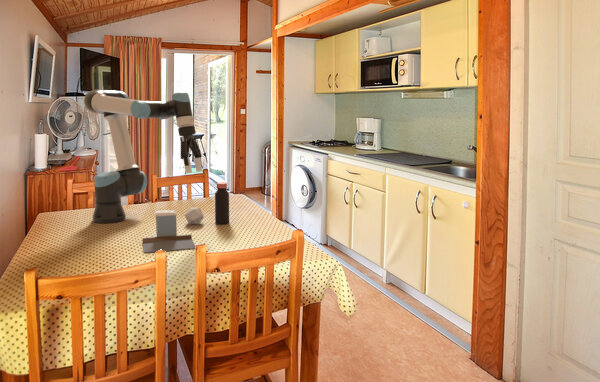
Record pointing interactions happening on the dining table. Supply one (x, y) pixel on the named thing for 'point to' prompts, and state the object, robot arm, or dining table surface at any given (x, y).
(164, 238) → the rail
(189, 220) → the grey faceted rock
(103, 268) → the dining table surface
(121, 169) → the robot arm
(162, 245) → the mat
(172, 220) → the tall block
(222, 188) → the bottle
